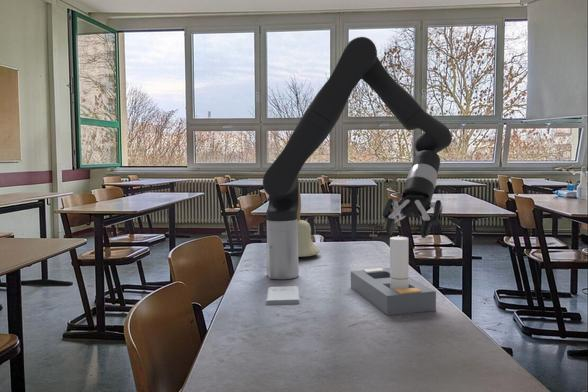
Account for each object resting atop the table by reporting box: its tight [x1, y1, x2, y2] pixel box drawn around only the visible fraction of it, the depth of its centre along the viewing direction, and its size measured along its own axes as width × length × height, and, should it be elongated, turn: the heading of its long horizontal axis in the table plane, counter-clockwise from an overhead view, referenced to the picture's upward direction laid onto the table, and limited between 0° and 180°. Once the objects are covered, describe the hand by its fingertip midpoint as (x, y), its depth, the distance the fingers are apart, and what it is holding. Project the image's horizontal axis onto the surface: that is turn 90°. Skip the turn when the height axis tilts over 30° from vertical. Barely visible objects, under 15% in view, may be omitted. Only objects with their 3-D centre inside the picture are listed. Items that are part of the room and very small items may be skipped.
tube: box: [389, 236, 409, 290], centre depth 115 cm, size 4×4×15 cm
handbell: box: [297, 187, 321, 258], centre depth 172 cm, size 15×15×25 cm
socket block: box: [350, 267, 437, 317], centre depth 121 cm, size 24×12×5 cm, turn 13°
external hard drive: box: [265, 285, 301, 305], centre depth 124 cm, size 2×8×12 cm
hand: (405, 234), depth 118 cm, fingers open, 8 cm apart
